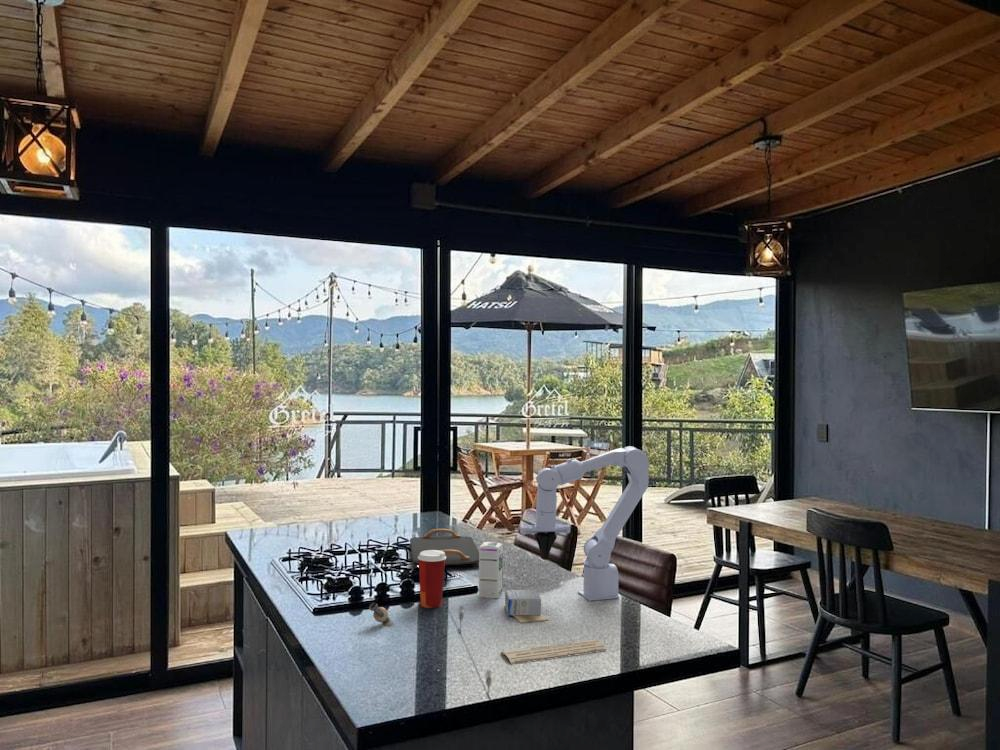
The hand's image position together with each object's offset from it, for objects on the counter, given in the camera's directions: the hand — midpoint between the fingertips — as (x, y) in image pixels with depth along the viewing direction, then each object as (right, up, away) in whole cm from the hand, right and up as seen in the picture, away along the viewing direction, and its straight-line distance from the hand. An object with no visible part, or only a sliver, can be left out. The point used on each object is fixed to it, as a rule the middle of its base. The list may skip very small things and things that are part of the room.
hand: (544, 558), depth 201 cm
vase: (-42, -10, -27) cm, 51 cm away
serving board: (-32, -11, +42) cm, 54 cm away
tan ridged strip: (-1, -11, -41) cm, 42 cm away
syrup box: (-15, -10, -1) cm, 19 cm away
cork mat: (-6, -10, -16) cm, 20 cm away
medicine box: (-2, -8, -14) cm, 16 cm away
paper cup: (-31, -10, -10) cm, 34 cm away
